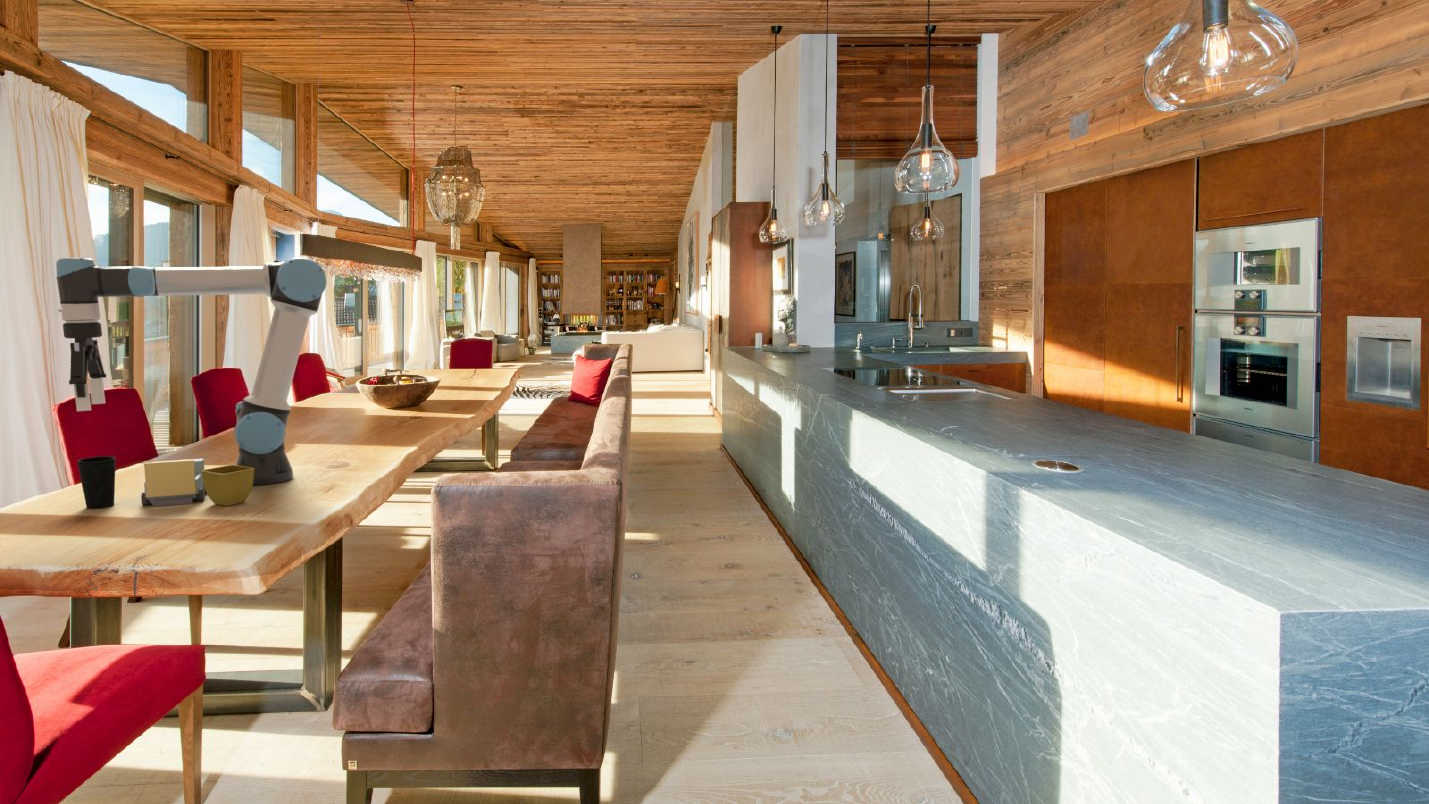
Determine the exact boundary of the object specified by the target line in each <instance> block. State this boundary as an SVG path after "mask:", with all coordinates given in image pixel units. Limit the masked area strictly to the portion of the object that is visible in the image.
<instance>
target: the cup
mask: <svg viewBox="0 0 1429 804" xmlns="http://www.w3.org/2000/svg"><path fill="white" fill-rule="evenodd" d="M116 460H117V459H116V457H115V456H111V455H109V456H108V455H107V456H106V455H105V456H104V455H103V456H92V457H91V456H89V457H86V458H81V459H78V460H77V461H76V462H77V467H78V473H79V477H80V483H81V487H82V492H83V495H84V496H83V497H84V502H85V506H86V509H88V510H99V509H107V508H110V507H113V506H115V493H116V490H115V489H116Z"/></svg>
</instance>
